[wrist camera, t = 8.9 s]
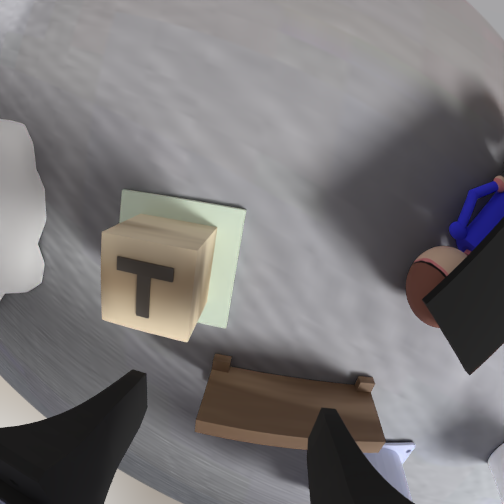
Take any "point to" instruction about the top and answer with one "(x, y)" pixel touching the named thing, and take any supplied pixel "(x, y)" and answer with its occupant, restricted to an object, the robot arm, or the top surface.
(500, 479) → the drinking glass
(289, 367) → the top surface
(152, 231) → the letter cube
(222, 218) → the pad
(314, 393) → the brown piece
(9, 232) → the figurine
